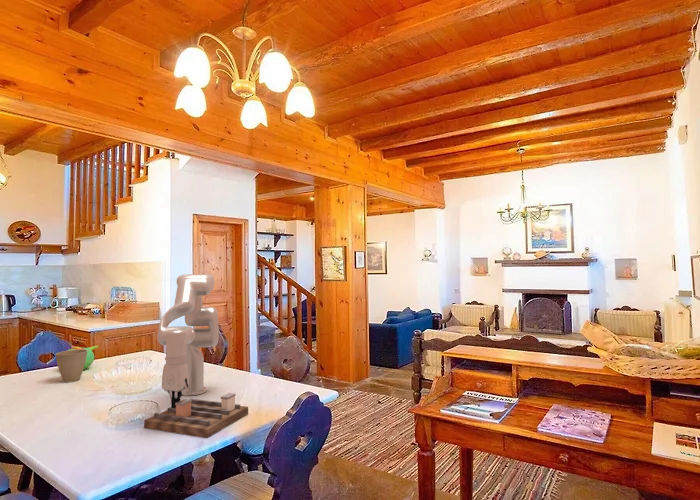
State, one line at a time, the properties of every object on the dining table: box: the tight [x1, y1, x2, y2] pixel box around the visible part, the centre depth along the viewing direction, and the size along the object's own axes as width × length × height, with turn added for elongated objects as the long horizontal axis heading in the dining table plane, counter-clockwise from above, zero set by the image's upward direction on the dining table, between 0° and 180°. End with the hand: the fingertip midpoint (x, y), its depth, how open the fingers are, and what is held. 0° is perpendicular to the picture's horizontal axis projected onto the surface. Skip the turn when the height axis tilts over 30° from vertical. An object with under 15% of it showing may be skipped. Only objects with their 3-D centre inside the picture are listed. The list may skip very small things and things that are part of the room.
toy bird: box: [66, 345, 99, 370], centre depth 258 cm, size 18×17×15 cm
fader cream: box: [220, 392, 236, 411], centre depth 171 cm, size 3×5×6 cm, turn 160°
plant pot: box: [55, 349, 87, 383], centre depth 233 cm, size 15×15×16 cm
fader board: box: [143, 398, 249, 439], centre depth 168 cm, size 30×26×5 cm
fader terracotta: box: [175, 398, 193, 417], centre depth 163 cm, size 3×5×6 cm, turn 160°
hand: (175, 407), depth 165 cm, fingers closed
